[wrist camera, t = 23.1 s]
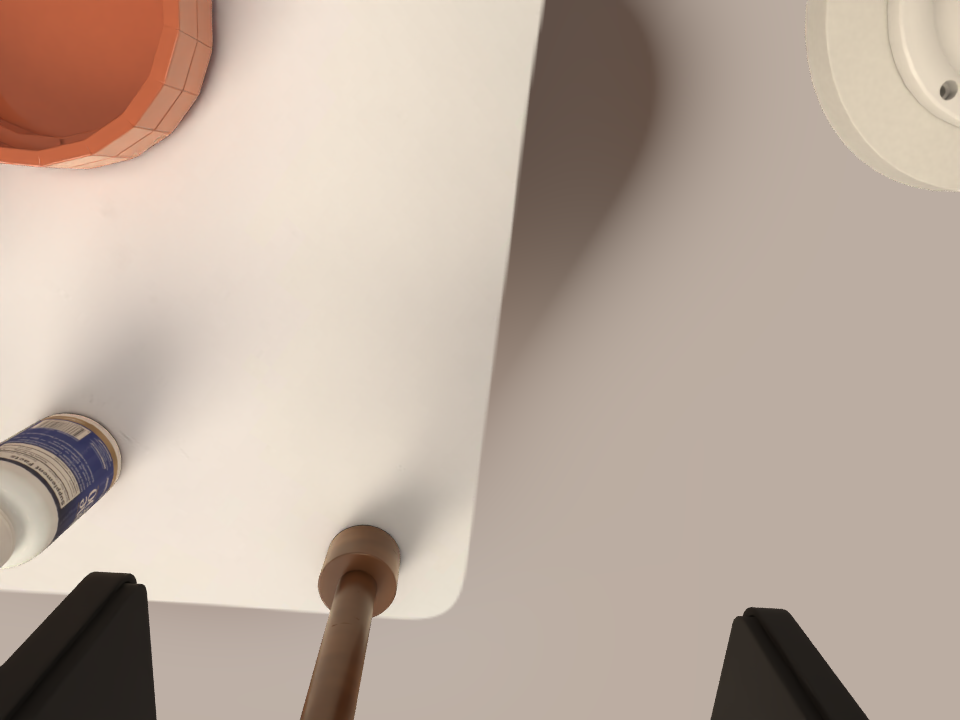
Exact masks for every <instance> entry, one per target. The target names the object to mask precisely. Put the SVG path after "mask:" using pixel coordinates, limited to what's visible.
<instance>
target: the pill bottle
mask: <svg viewBox="0 0 960 720" xmlns="http://www.w3.org/2000/svg"><path fill="white" fill-rule="evenodd" d="M120 471H121V455H120V451H119V448H118V445H117V443H116V441H115V440H114V438H113V437H112V436H111V434H110V433H109V432H108V431H107V430H106V429H105V428H104V427H102V426H101V425H100V424H98V423H97V422H95V421H94V420H91V419H89V418H87V417H84V416H81V415H76V414H66V413H64V414H55V415H51V416H48V417H46V418H44V419H42V420H40V421H38V422H36V423H34V424H33V425H31V426H29V427H27V428H25V429H24V430H22V431H20V432H18V433H17V434H15V435H13V436H11V437H10V438H8V439H6V440H5V441H3V442H1V443H0V569H6V568H12V567H15V566H19V565H21V564H24V563H26V562H28V561H30V560H32V559H33V558H34V557H36V556H37V555H39V554H40V553H41V552H42V551H44V550H45V549H46V548H47V547H48V546H49V545H50V544H51V543H52V542H53V541H55V540H56V539H57V538H58V537H59V536H60V535H61V534H62V533H63V532H64V531H65V530H66V529H68V528H69V527H70V526H71V525H72V524H73V523H74V522H75V521H76V520H78V519H79V518H80V517H81V516H82V515H83V514H84V513H85V512H86V511H87V510H89V509H90V508H91V507H92V506H93V505H94V504H95V503H96V502H97V501H98V500H99V499H100V498H101V497H102V496H103V495H104V494H105V493H106V492H108V491H109V490H110V488H111V487H112V486H113V485H114V484H115V482H116V481H117V479H118V477H119V474H120Z"/></svg>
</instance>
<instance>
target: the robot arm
mask: <svg viewBox="0 0 960 720" xmlns="http://www.w3.org/2000/svg"><path fill="white" fill-rule="evenodd" d="M887 16H888V33H889V41H890V45H891V49H892V53H893V57H894V61H895V64H896V66H897V68H898V71H899V73H900V75H901V77H902V79H903V81H904V83H905V85H906V86H907V88H908V89H909V90H910V92H911V93H912V94H913V95H914V97H915V98H916V99H917V101H918V102H919V103H920V104H921V105H922V106H924V107H925V108H926V109H927V110H929V111H930V112H931V113H932V114H933V115H935V116H936V117H938V118H940V119H942V120H944V121H946V122H948V123H950V124H952V125H954V126H956V127H960V0H888V8H887ZM0 720H156V706H155V693H154V680H153V668H152V654H151V641H150V627H149V614H148V601H147V591H146V587H145V586H144V585H143V584H137V582H136V579H135V577H134V575H132V574H128V573H110V572H92V573H90V574H88V575H87V576H86V577H85V578H84V579H83V580H82V581H81V582H80V583H79V584H78V585H77V586H76V587H75V589H74V590H73V591H72V592H71V593H70V594H69V595H68V596H67V597H66V598H65V599H64V600H63V601H62V602H61V603H60V605H59V606H58V607H57V608H56V609H55V610H54V611H53V612H52V613H51V614H50V615H49V616H48V617H47V618H46V620H44V622H43V623H42V624H41V625H40V626H39V627H38V628H37V629H36V630H35V631H34V632H33V633H32V634H31V635H30V637H29V638H28V639H27V640H26V641H25V642H24V643H23V644H22V645H21V646H20V647H19V648H18V649H17V650H16V651H15V652H14V653H13V655H12V656H11V657H10V658H9V659H8V660H7V661H6V662H5V663H4V664H3V665H2V666H1V667H0ZM711 720H869V719H868V718H867V716H866V715H865V714H864V712H863V711H862V710H861V708H860V707H859V706H858V704H857V703H856V702H855V700H854V699H853V697H852V696H851V695H850V693H849V692H848V691H847V689H846V688H845V687H844V685H843V684H842V683H841V681H840V680H839V679H838V677H837V676H836V675H835V674H834V672H833V671H832V669H831V668H830V667H829V665H828V664H827V662H826V661H825V660H824V658H823V657H822V656H821V654H820V653H819V652H818V650H817V649H816V648H815V647H814V645H813V644H812V642H811V641H810V640H809V638H808V637H807V636H806V634H805V633H804V632H803V630H802V629H801V627H800V626H799V625H798V623H797V622H796V621H795V620H794V618H793V617H792V615H791V614H790V613H789V612H788V611H786V610H783V609H773V608H755V607H750V608H747V609H746V611H745V612H744V614H743V616H738V617H736V618H735V619H734V621H733V624H732V629H731V633H730V637H729V642H728V646H727V650H726V655H725V659H724V664H723V668H722V672H721V677H720V681H719V686H718V690H717V694H716V699H715V703H714V707H713V712H712V717H711Z"/></svg>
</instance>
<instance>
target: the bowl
mask: <svg viewBox="0 0 960 720" xmlns="http://www.w3.org/2000/svg"><path fill="white" fill-rule="evenodd" d="M212 47H213V38H212V0H0V163H1V164H12V165H23V166H33V167H49V168H74V169H92V168H96V167H100V166H105V165H109V164H113V163H117V162H122V161H126V160H130V159H133V158H135V157H137V156H138V155H140V154H142V153H143V152H145V151H146V150H148V149H149V148H151V147H152V146H154V145H155V144H157V143H158V142H160V141H161V140H163V139H164V138H166V137H167V136H169V135H170V134H171V133H172V132H173V131H174V130H175V128H176V127H177V125H178V124H179V123H180V121H181V120H182V119H183V117H184V116H185V114H186V113H187V112H188V110H189V109H190V108H191V106H192V105H193V103H194V102H195V101H196V99H197V98H198V96H199V94H200V90H201V87H202V84H203V80H204V77H205V74H206V70H207V67H208V64H209V60H210V57H211V53H212V49H211V48H212Z"/></svg>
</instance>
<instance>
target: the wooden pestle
mask: <svg viewBox="0 0 960 720" xmlns="http://www.w3.org/2000/svg"><path fill="white" fill-rule="evenodd" d="M399 567H400V551H399V548H398V545H397V544H396V542H395V540H394V539H393V538H392V537H391V536H390V535H389V534H388V533H386V532H385V531H383V530H382V529H379V528H377V527H373V526H368V525H359V526H353V527H350V528H348V529H345V530H344V531H342V532H340V533H339V534H338V535H337V536H336V537H335V538H334V539H333V541H332V542H331V544H330V546H329V549H328V552H327V555H326V558H325V561H324V564H323V567H322V570H321V573H320V576H319V580H318V590H319V594H320V597H321V599H322V601H323V602H324V604H325V605H326V606H327V608H329V609H330V614H329V617H328V621H327V625H326V628H325V632H324V636H323V639H322V643H321V646H320V650H319V653H318V657H317V661H316V664H315V668H314V671H313V675H312V679H311V682H310V686H309V689H308V693H307V697H306V700H305V704H304V707H303V711H302V715H301V718H300V720H354V715H355V710H356V703H357V698H358V692H359V687H360V681H361V676H362V670H363V664H364V659H365V653H366V647H367V642H368V637H369V630H370V625H371V620H372V617H375V616H377V615H379V614H381V613H382V612H384V611H385V610H386V609H387V608H388V607H389V606H390V604H391V603H392V602H393V600H394V598H395V595H396V590H397V583H398V575H399Z"/></svg>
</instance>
